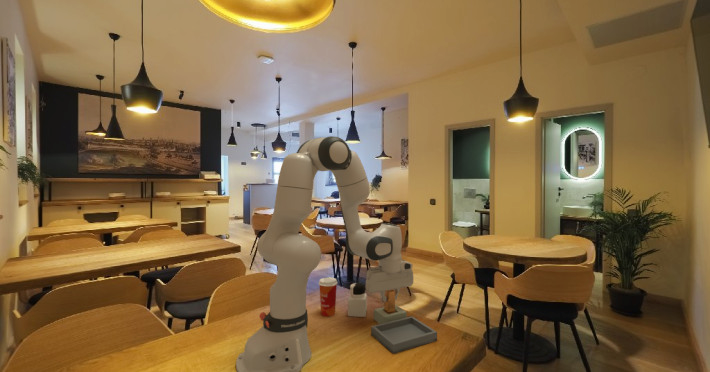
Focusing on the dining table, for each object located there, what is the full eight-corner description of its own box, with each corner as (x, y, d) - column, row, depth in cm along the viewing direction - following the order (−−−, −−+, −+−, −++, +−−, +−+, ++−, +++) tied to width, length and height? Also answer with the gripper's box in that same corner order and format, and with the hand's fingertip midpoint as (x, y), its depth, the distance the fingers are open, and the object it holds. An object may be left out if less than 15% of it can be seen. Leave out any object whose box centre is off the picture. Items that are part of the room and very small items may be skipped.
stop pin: (388, 318, 123) (388, 292, 123) (384, 315, 126) (384, 289, 125) (394, 316, 124) (395, 291, 124) (390, 313, 127) (390, 288, 127)
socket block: (384, 327, 120) (384, 317, 119) (373, 319, 127) (373, 309, 127) (406, 322, 124) (406, 312, 124) (394, 314, 131) (394, 304, 131)
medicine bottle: (366, 309, 136) (366, 281, 135) (365, 317, 129) (365, 287, 128) (349, 309, 136) (349, 281, 136) (347, 316, 129) (347, 287, 129)
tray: (393, 353, 102) (393, 344, 102) (371, 334, 115) (371, 326, 115) (437, 340, 110) (437, 332, 110) (411, 323, 123) (412, 316, 123)
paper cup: (316, 311, 134) (316, 278, 133) (333, 308, 137) (333, 275, 137) (322, 319, 127) (322, 284, 126) (340, 315, 130) (340, 281, 129)
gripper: (370, 270, 117) (370, 307, 117) (416, 263, 126) (415, 298, 127) (362, 265, 123) (362, 301, 123) (406, 260, 132) (405, 293, 132)
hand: (389, 300), depth 125 cm, fingers closed on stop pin, 3 cm apart
